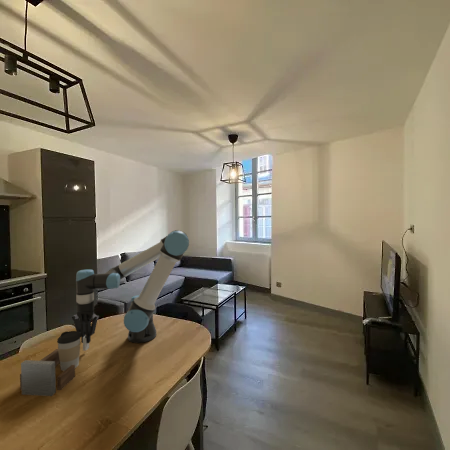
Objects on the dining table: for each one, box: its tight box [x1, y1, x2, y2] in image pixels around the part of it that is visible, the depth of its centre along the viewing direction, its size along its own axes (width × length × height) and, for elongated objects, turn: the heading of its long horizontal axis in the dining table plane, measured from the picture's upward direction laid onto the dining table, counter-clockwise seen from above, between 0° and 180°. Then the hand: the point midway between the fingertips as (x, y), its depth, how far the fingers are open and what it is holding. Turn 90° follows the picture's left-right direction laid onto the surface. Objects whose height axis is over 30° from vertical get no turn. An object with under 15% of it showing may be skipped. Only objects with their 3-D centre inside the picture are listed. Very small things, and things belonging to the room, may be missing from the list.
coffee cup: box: [57, 330, 81, 372], centre depth 112 cm, size 9×9×15 cm
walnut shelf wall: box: [19, 348, 76, 391], centre depth 106 cm, size 16×19×6 cm
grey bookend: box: [20, 359, 57, 397], centre depth 95 cm, size 12×2×12 cm, turn 85°
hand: (86, 349), depth 123 cm, fingers closed
